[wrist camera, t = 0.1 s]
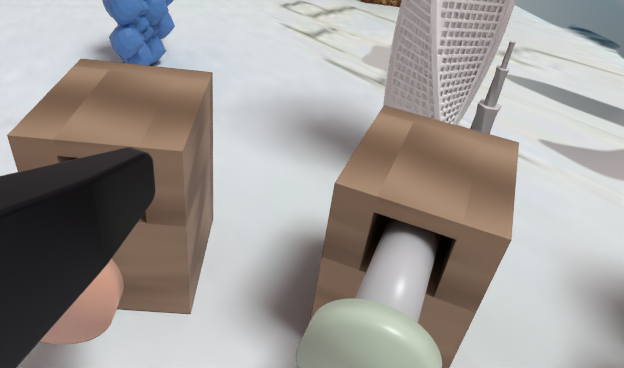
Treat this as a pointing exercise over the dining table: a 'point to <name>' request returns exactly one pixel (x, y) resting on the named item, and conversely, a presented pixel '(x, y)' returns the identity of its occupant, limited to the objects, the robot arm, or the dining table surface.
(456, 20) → the skyscraper
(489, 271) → the box middle
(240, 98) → the dining table surface
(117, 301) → the button terracotta
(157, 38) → the grapes
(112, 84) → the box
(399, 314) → the button sage
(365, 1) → the bread
